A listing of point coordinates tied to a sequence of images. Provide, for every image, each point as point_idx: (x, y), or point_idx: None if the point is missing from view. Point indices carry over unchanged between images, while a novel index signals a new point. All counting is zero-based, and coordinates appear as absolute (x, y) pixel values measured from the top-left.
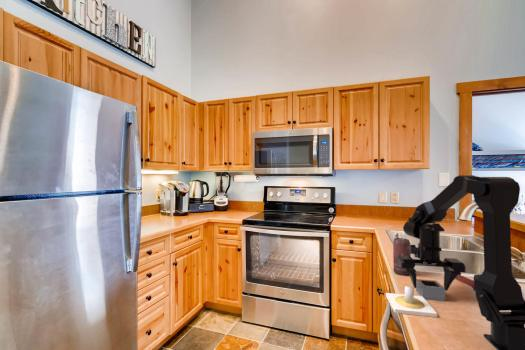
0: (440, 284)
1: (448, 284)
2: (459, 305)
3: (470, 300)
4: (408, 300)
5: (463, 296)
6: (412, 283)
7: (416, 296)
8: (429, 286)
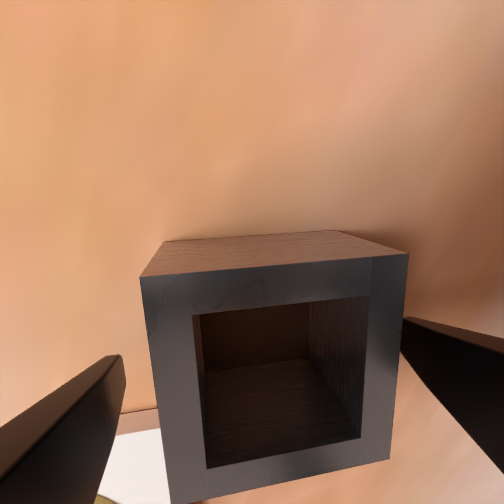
0: (396, 368)
1: (467, 423)
2: None
3: (492, 306)
4: None
5: (489, 251)
6: (77, 382)
7: (119, 451)
8: (250, 471)
